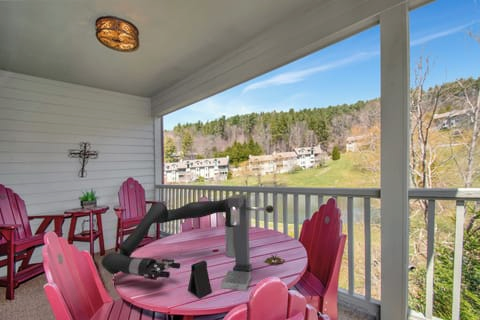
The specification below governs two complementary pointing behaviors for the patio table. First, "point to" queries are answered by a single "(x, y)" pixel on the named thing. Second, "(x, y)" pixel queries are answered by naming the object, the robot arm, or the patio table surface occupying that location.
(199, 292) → the phone stand
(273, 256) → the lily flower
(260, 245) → the patio table surface
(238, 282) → the arbor press
